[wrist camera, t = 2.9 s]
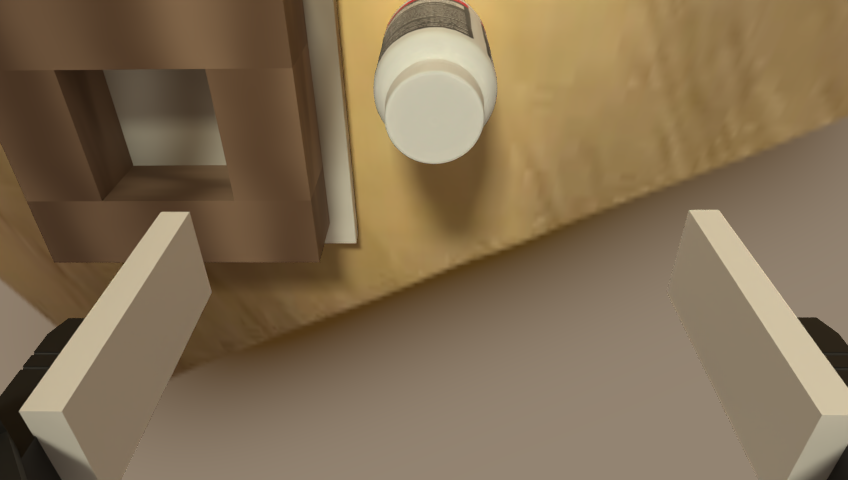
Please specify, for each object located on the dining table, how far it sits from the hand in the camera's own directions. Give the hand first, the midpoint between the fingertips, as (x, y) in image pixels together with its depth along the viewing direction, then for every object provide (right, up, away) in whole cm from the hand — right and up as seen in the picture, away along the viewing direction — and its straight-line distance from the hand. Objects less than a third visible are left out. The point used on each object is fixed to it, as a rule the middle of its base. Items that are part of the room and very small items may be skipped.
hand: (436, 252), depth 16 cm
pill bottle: (0, +11, +16) cm, 19 cm away
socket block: (-14, +8, +17) cm, 24 cm away
